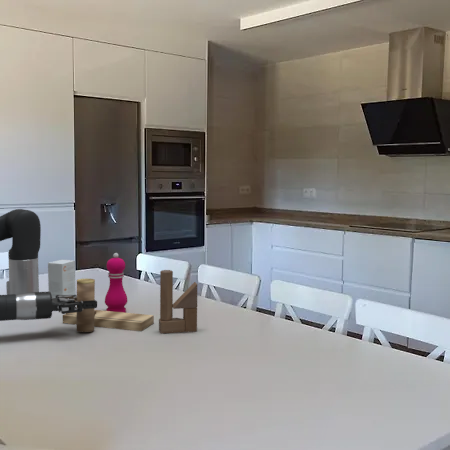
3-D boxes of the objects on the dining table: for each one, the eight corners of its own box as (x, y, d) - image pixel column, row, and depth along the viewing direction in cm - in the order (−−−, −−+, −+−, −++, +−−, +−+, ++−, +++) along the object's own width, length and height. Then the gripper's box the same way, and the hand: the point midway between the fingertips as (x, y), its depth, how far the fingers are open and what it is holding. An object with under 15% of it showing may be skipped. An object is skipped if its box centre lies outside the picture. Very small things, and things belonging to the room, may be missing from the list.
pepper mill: (130, 311, 187) (129, 251, 185) (124, 317, 180) (123, 254, 178) (108, 310, 188) (108, 251, 186) (101, 316, 180) (101, 254, 178)
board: (62, 323, 172) (62, 314, 171) (78, 316, 180) (78, 308, 180) (141, 331, 164) (141, 322, 164) (153, 323, 173) (153, 314, 173)
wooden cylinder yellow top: (73, 331, 162) (73, 280, 160) (87, 324, 169) (87, 276, 168) (88, 333, 160) (89, 282, 159) (102, 326, 168) (102, 277, 167)
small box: (61, 293, 212) (61, 259, 211) (76, 295, 210) (75, 260, 209) (47, 298, 205) (47, 262, 203) (62, 299, 202) (62, 263, 201)
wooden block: (197, 331, 165) (197, 271, 163) (160, 334, 162) (160, 272, 160) (194, 328, 168) (195, 268, 166) (158, 330, 165) (158, 269, 164)
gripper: (31, 313, 164) (90, 309, 171) (35, 325, 151) (99, 320, 157) (31, 287, 163) (90, 284, 170) (35, 297, 150) (100, 294, 157)
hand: (94, 302), depth 164 cm, fingers closed on wooden cylinder yellow top, 5 cm apart
